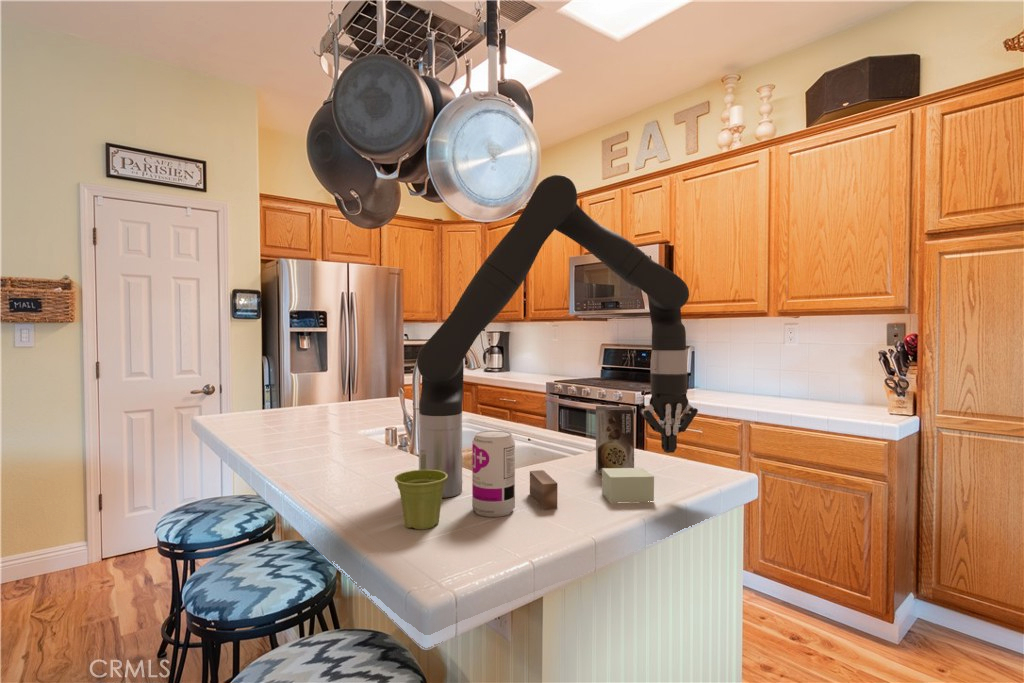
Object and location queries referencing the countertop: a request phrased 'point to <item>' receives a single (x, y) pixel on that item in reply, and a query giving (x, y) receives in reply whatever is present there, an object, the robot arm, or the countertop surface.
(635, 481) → the block
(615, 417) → the coffee box
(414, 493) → the plant pot
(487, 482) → the supplement can
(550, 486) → the brown wooden block
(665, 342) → the robot arm
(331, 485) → the countertop surface
